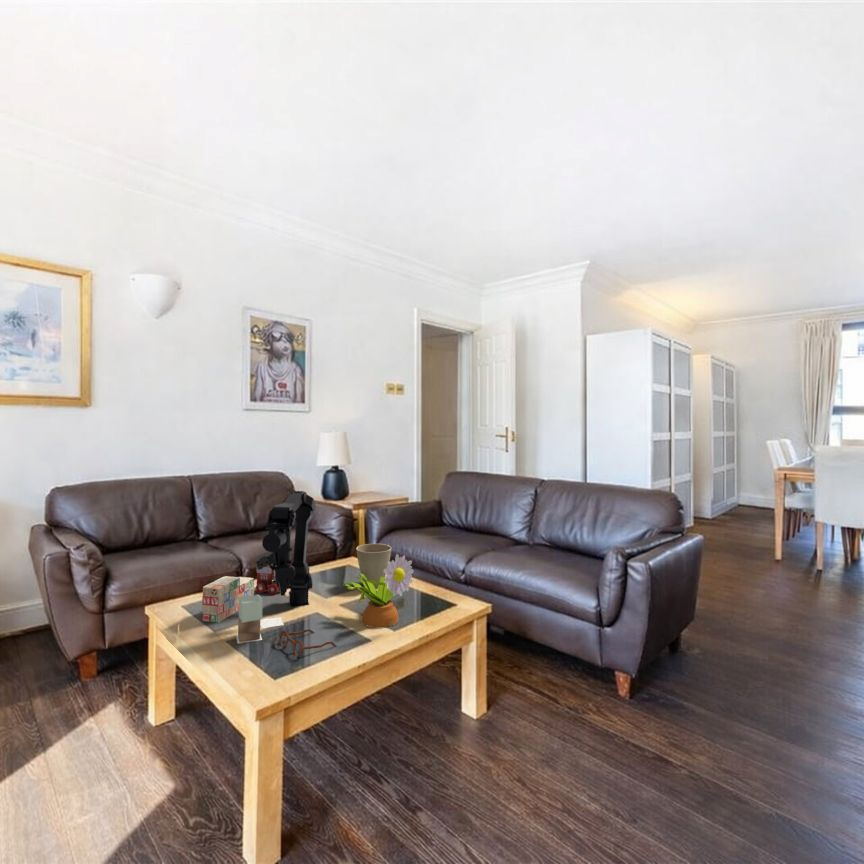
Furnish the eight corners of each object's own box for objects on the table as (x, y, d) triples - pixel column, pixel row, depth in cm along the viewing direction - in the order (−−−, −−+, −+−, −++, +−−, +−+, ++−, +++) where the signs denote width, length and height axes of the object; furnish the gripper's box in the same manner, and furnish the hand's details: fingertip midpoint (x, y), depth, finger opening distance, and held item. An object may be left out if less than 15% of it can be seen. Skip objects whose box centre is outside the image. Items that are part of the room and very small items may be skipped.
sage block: (258, 612, 160) (258, 594, 160) (262, 619, 155) (262, 600, 155) (238, 615, 157) (239, 597, 157) (241, 622, 152) (242, 603, 152)
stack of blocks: (239, 600, 188) (239, 568, 188) (254, 602, 187) (254, 570, 186) (201, 622, 167) (202, 586, 167) (217, 624, 166) (218, 588, 165)
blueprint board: (284, 617, 173) (284, 616, 173) (294, 639, 156) (294, 638, 156) (222, 626, 164) (222, 625, 164) (225, 649, 147) (225, 648, 147)
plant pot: (376, 577, 221) (377, 541, 220) (397, 586, 210) (398, 548, 209) (348, 583, 211) (349, 546, 210) (368, 593, 200) (369, 554, 199)
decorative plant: (374, 640, 157) (376, 562, 156) (328, 618, 173) (330, 547, 173) (431, 617, 176) (433, 548, 176) (385, 600, 193) (387, 536, 192)
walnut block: (257, 631, 160) (258, 613, 160) (259, 639, 154) (260, 620, 154) (237, 634, 157) (238, 615, 157) (239, 642, 152) (239, 623, 152)
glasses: (278, 646, 152) (278, 630, 152) (315, 634, 161) (315, 618, 161) (300, 661, 143) (300, 644, 143) (338, 647, 152) (338, 631, 152)
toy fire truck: (281, 595, 195) (281, 569, 194) (251, 593, 196) (252, 567, 196) (288, 589, 201) (289, 564, 201) (260, 587, 203) (260, 562, 203)
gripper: (253, 539, 168) (251, 585, 168) (259, 553, 151) (258, 603, 152) (286, 537, 173) (285, 581, 173) (296, 550, 156) (295, 599, 156)
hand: (280, 590), depth 163 cm, fingers open, 9 cm apart
